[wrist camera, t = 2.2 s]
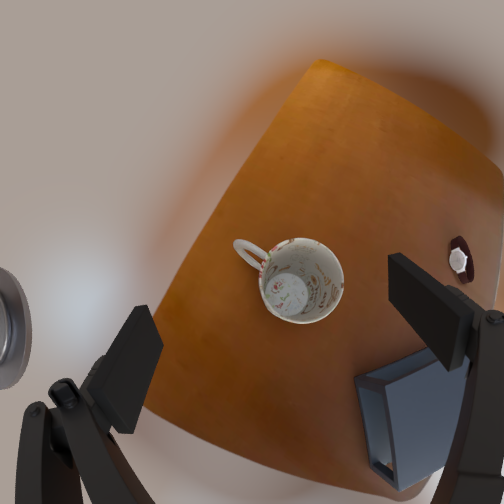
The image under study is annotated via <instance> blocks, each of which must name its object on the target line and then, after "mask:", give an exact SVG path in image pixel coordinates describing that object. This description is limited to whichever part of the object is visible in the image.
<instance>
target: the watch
mask: <svg viewBox="0 0 504 504" xmlns="http://www.w3.org/2000/svg"><path fill="white" fill-rule="evenodd" d="M458 245H459V246H460V248H461V250H462V251H461V250H460V249H459V246H458ZM451 250H452V251H451V252H452V253H451V255H450V260H449V261H450V265H451V267H452V268H453V269H454V270H455V271H457V273H458V276H459V279H460V281H461V282H462V283H463V284H465V283H469V282H472V281H473V279H474V266H473V260H472V256H471V254H470V250H469V248H468V245H467V243H466V241H465V240H464V239H463V237H461V236H458V237H456V238H454V239H453V240H452V241H451ZM465 266H466V270H467V276H466V273H465Z"/></svg>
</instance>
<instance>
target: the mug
mask: <svg viewBox="0 0 504 504" xmlns="http://www.w3.org/2000/svg"><path fill="white" fill-rule="evenodd" d="M233 246H234V249H235V250H236V251H237V253H238V254H239V255H240V256H241V257H242V258H243V259H244V260H245V261H247V262H248V263H249V264H250V265H251V266H253V267H254V268H256V269H258V270H259V289H260V293H261V296H262V299H263V301H264V304H265V306H266V307H267V309H268V310H269V311H270V312H271V313H272V314H274V315H275V316H277V317H279V318H281V319H283V320H285V321H288V322H292V323H298V324H306V323H312V322H315V321H318V320H321V319H322V318H324V317H326V316H327V315H328V314H330V313H331V312H332V311H333V310H334V308H335V307H336V306H337V304H338V302H339V301H340V298H341V296H342V293H343V287H344V277H343V271H342V268H341V265H340V263H339V261H338V259H337V258H336V256H335V255H334V254H333V253H332V251H330V250H329V249H328V248H327V247H326V246H324V245H323V244H321V243H319V242H317V241H315V240H311V239H307V238H294V239H289V240H286V241H283V242H281V243H279V244H278V245H276V246H275V247H274V248H272V249H271V250H270V251H269V253H266V252H265V251H263V250H262V249H260V248H259V247H257V246H256V245H254V244H252V243H250V242H248V241H245V240H241V239H237V240H235V241H234V242H233ZM244 249H247V250H249V251H251V252H252V253H254V254H256V255H257V256H258V257H260V258H261V259H263V262H262V265H261V264H259V263H258V262H257V261H256V260H255V259H253V258H252V257H251V256H249V255H248V254H247V253H246V252H245V251H244Z"/></svg>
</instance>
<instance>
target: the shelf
mask: <svg viewBox="0 0 504 504" xmlns="http://www.w3.org/2000/svg"><path fill="white" fill-rule="evenodd" d="M469 362H470V360H469V359H468V357H467V356H466V355H465V358H464V361H463V365H462V366H461V367H459V368H457V369H455V370H453V371H451V372H448V371H447V370H446V369H445V367H444V366H443V365H442V364H441V362H440V361H439V360H438V359H437V357H436V356H435V355H434V353H433V352H432V351H431V350H430V348H429V347H426V348H424V349H422V350H419V351H417V352H415V353H413V354H411V355H408V356H406V357H404V358H402V359H399V360H397V361H395V362H392V363H390V364H387V365H385V366H383V367H380V368H378V369H375V370H372V371H370V372H367V373H365V374H362V375H359V376H356V377H354V381H355V385H356V390H357V395H358V400H359V405H360V410H361V416H362V421H363V426H364V432H365V438H366V444H367V450H368V456H369V462H370V468H371V469H372V470H373V471H374V472H375V473H377V474H378V475H379V476H380V477H381V478H383V479H384V480H385V481H386V482H387V483H389V484H390V485H391V486H392V487H394V488H395V489H396V490H397V491H398V492H400V491H402V490H404V489H406V488H408V487H410V486H412V485H413V484H415V483H417V482H419V481H421V480H422V479H424V478H426V477H427V476H429V475H431V474H432V473H434V472H436V471H437V470H439V469H441V468H442V467H443V466H445V464H446V461H447V458H448V455H449V452H450V448H451V445H452V441H453V438H454V434H455V430H456V427H457V423H458V418H459V414H460V410H461V405H462V400H463V395H464V389H465V384H466V379H464V378H465V375H466V372H467V369H468V365H469ZM390 462H392V465H393V471H392V470H391V469H389V468H388V467H387V466H385V465H386V464H388V463H390Z"/></svg>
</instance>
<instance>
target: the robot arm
mask: <svg viewBox="0 0 504 504" xmlns="http://www.w3.org/2000/svg"><path fill="white" fill-rule="evenodd" d="M388 281H389V301H390V302H391V303H392V304H393V306H394V307H395V308H396V309H397V310H398V311H399V312H400V314H401V315H402V316H403V317H404V318H405V320H406V321H407V322H408V323H409V324H410V325H411V327H412V328H413V329H414V330H415V331H416V333H417V334H418V335H419V336H420V337H421V339H422V340H423V341H424V342H425V344H426V345H427V346H428V347H429V348H430V350H431V351H432V352H433V353H434V355H435V356H436V357H437V359H438V360H439V361H440V362H441V364H442V365H443V366H444V367H445V369H446V370H447V371H448V372H451V371H453V370H455V369H457V368H459V367H461V366H462V365H463V361H464V358H465V355H466V356H467V357H468V359H469V360H470V362H469V365H468V369H467V372H466V375H465V378H464V379H466V384H465V389H464V395H463V400H462V405H461V410H460V414H459V418H458V423H457V427H456V430H455V434H454V438H453V441H452V445H451V448H450V452H449V455H448V458H447V461H446V464H445V467H444V470H443V473H442V476H441V479H440V481H439V484H438V486H437V489H436V491H435V494H434V496H433V499H432V501H431V503H430V504H500V503H501V500H502V495H503V492H504V477H503V476H501V469H502V464H503V459H504V313H502V312H500V311H497V310H488V311H485V310H484V309H483V308H481V307H480V306H479V305H478V304H477V303H475V302H474V301H473V300H472V299H469V297H468V296H467V295H464V293H463V292H461V291H460V290H459V289H458V288H455V287H453V286H450V285H447V286H444V285H442V284H441V283H440V282H438V281H437V280H436V279H435V278H433V277H432V276H431V275H429V274H428V273H427V272H426V271H424V270H423V269H422V268H420V267H419V266H418V265H416V264H415V263H414V262H412V261H411V260H410V259H408V258H407V257H406V256H404V255H403V254H402V253H400V252H399V253H395V254H391V255H388ZM10 339H11V322H10V315H9V311H8V307H7V304H6V302H5V300H4V298H3V296H2V294H1V293H0V365H1V364H2V362H3V361H4V360H5V358H6V356H7V353H8V350H9V346H10ZM163 346H164V345H163V342H162V340H161V338H160V335H159V333H158V330H157V328H156V326H155V323H154V321H153V318H152V316H151V314H150V311H149V308H148V306H147V305H141V306H135V307H134V309H133V311H132V312H131V314H130V315H129V317H128V319H127V320H126V322H125V323H124V325H123V326H122V328H121V330H120V331H119V333H118V335H117V336H116V338H115V339H114V341H113V343H112V345H111V346H110V348H109V350H108V351H107V353H106V355H104V356H103V355H102V357H100V358H99V359H98V360H97V361H96V362H95V363H94V365H93V367H92V368H91V370H90V372H89V373H88V376H87V377H86V379H85V380H84V382H83V384H82V385H81V387H80V389H78V388H77V386H76V385H75V383H74V382H73V380H72V379H69V378H63V379H61V380H58V381H57V382H55V383H54V384H53V385H52V386H51V387H50V389H49V391H48V395H49V397H50V398H51V399H52V401H53V402H54V403H55V405H56V406H57V407H56V408H52V409H48V408H47V406H46V405H45V404H44V403H43V402H41V401H38V402H34V403H32V404H30V405H29V406H28V407H27V409H26V410H25V412H24V416H23V422H22V429H21V434H20V442H19V449H18V458H17V470H16V485H15V486H16V487H15V504H83V497H82V490H81V483H80V476H81V479H82V481H83V484H84V486H85V488H86V491H87V493H88V495H89V497H90V500H91V502H92V504H155V502H154V501H153V500H152V498H151V497H150V495H149V494H148V493H147V491H146V490H145V488H144V487H143V485H142V484H141V482H140V481H139V479H138V478H137V476H136V475H135V473H134V471H133V470H132V468H131V467H130V465H129V463H128V462H127V460H126V458H125V457H124V455H123V453H122V452H121V450H120V448H119V446H118V444H117V443H116V441H115V439H114V437H113V435H112V434H111V433H110V432H109V431H110V428H111V426H113V427H114V428H115V430H116V431H117V432H118V433H122V434H133V433H134V430H135V427H136V424H137V421H138V417H139V414H140V412H141V409H142V406H143V403H144V400H145V397H146V394H147V391H148V388H149V385H150V382H151V379H152V377H153V374H154V371H155V368H156V365H157V363H158V360H159V357H160V354H161V352H162V349H163Z"/></svg>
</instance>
